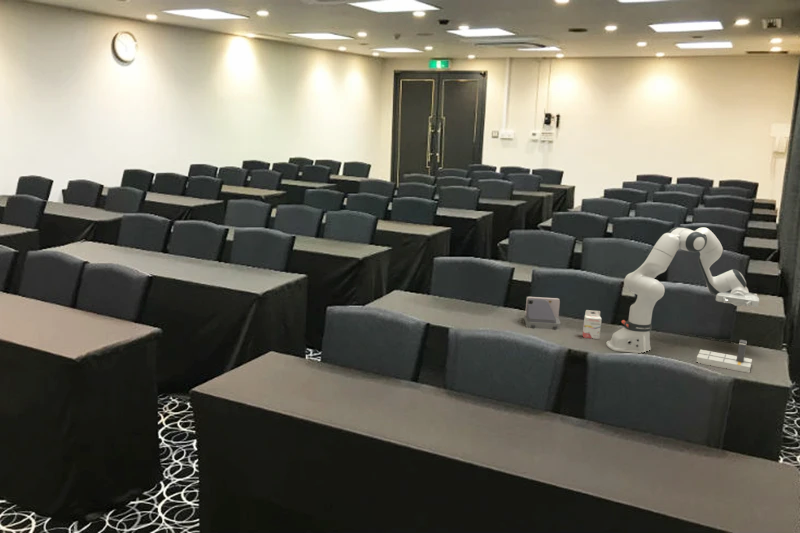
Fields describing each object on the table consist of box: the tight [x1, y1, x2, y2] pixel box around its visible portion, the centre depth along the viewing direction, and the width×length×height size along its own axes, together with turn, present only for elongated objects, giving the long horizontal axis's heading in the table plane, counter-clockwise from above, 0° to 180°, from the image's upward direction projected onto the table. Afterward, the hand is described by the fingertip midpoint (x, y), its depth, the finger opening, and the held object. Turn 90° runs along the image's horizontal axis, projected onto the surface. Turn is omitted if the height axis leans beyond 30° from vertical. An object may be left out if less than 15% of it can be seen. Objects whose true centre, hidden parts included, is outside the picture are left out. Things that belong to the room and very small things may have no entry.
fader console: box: [695, 348, 753, 374], centre depth 344 cm, size 24×14×3 cm, turn 60°
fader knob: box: [736, 339, 747, 362], centre depth 339 cm, size 3×4×12 cm
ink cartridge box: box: [582, 309, 603, 340], centre depth 376 cm, size 9×5×15 cm, turn 84°
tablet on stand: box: [523, 296, 562, 330], centre depth 397 cm, size 21×21×15 cm
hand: (736, 303), depth 351 cm, fingers open, 8 cm apart
